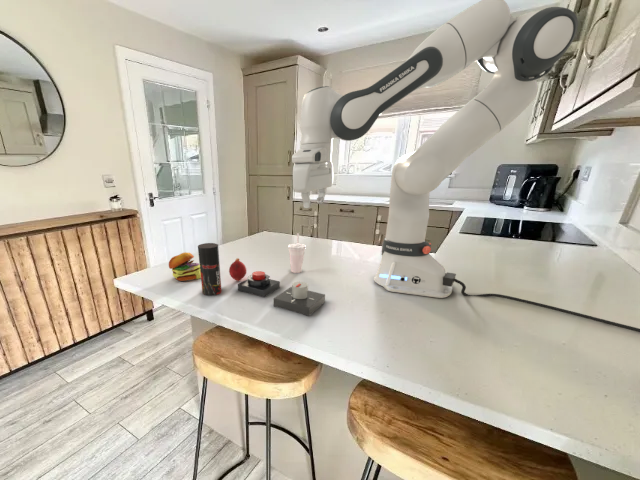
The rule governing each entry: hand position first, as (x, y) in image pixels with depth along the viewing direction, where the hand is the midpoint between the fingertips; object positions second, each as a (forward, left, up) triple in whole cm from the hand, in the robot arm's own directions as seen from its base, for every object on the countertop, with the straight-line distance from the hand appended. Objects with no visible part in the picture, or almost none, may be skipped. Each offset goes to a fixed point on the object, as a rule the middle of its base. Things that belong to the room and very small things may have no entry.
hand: (314, 205), depth 92 cm
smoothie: (+9, -8, -25) cm, 28 cm away
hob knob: (-5, +16, -22) cm, 28 cm away
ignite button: (+11, +13, -21) cm, 28 cm away
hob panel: (-5, +16, -25) cm, 30 cm away
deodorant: (+22, +23, -25) cm, 41 cm away
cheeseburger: (+39, +18, -25) cm, 50 cm away
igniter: (+11, +13, -25) cm, 30 cm away
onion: (+21, +11, -25) cm, 35 cm away
